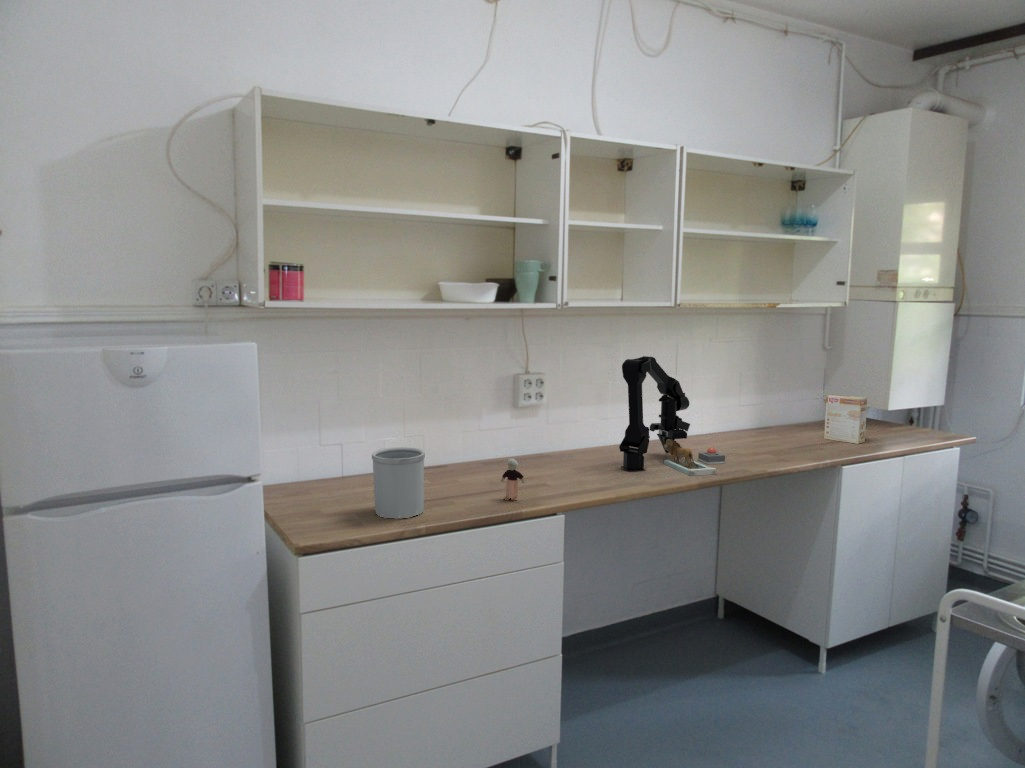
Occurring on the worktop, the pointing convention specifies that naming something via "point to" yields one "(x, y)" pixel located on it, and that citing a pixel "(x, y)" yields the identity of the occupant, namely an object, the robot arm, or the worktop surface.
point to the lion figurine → (679, 452)
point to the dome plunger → (711, 451)
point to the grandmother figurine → (512, 480)
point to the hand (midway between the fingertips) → (667, 452)
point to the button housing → (711, 458)
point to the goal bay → (692, 472)
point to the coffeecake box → (845, 418)
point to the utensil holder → (398, 482)
